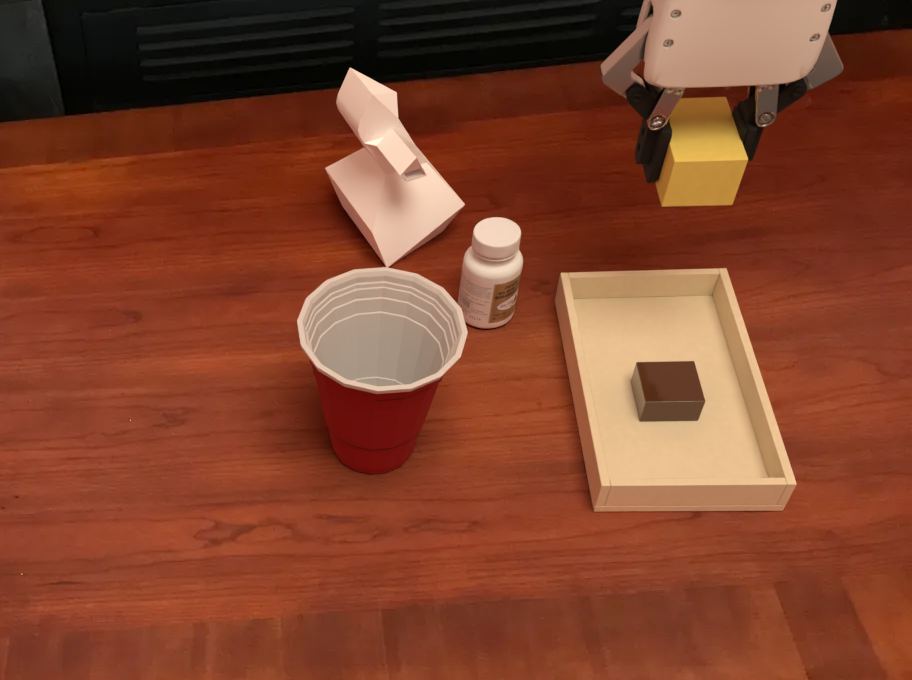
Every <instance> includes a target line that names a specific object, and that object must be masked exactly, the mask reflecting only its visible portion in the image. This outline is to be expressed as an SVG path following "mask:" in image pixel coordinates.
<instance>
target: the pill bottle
mask: <svg viewBox="0 0 912 680" xmlns="http://www.w3.org/2000/svg"><path fill="white" fill-rule="evenodd" d="M521 238H522V229H521V227H520V225H518V223H516V222H515V221H513V220H511V219H509V218H506V217H499V216H494V217H493V216H491V217H487V218H484V219H482V220H480V221H479V222H477V224H475V226H474V228H473V231H472V237H471V245H470V246H469V247H468V248H467V250H466V251H465V253H464V255H463V259H462V265H461V275H460V281H459V288H458V296H457V297H458V298H457V304H458V305H459V306H460V307H461V309H462V312H463V316H464V320H465V324H468V325H469V326H472V327H475V328H479V329H495V328H499V327H502V326H504V325H506V324H507V323H508V322H510V321H511V320H512V318H513V316H514V314H515V309H516V303H517V298H518V294H519V288H520V283H521V277H522V271H523V266H524V257H523V254H522V252H521V250H520V245H521Z"/></svg>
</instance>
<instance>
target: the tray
mask: <svg viewBox="0 0 912 680" xmlns="http://www.w3.org/2000/svg"><path fill="white" fill-rule="evenodd" d="M554 304H555V310H556V315H557V321H558V327H559V332H560V337H561V342H562V348H563V354H564V360H565V364H566V370H567V376H568V379H569V381H568V382H569V386H570V391H571V397H572V402H573V408H574V412H575V418H576V424H577V429H578V434H579V439H580V444H581V445H580V446H581V451H582V456H583V462H584V466H585V472H586V477H587V483H588V489H589V495H590V500H591V506H592V511H593V512H594V513H602V512H605V513H609V512H612V513H613V512H614V513H615V512H617V513H618V512H619V513H620V512H621V513H622V512H623V513H624V512H783V511H784V510H785V508H786V506H787V504H788V502H789V500H790V498H791V497H792V495H793V492H794V490H795V489H796V487H797V481H796V477H795V473H794V471H793V468H792V466H791V462H790V458H789V455H788V453H787V450H786V447H785V444H784V440H783V437H782V434H781V431H780V428H779V424H778V422H777V419H776V416H775V413H774V409H773V406H772V403H771V400H770V397H769V395H768V392H767V387H766V385H765V382H764V379H763V376H762V373H761V370H760V367H759V364H758V361H757V358H756V354H755V351H754V347H753V345H752V342H751V339H750V336H749V333H748V330H747V327H746V323H745V321H744V318H743V315H742V311H741V308H740V305H739V302H738V298H737V296H736V293H735V290H734V287H733V284H732V280H731V277H730V275H729V271H728V269H727V267H719V268H716V267H715V268H684V269H683V268H680V269H648V270H647V269H645V270H643V269H642V270H611V271H576V272H575V271H572V272H560V274H559V278H558V283H557V287H556V292H555V297H554ZM667 361H694V362H695V366H696V369H697V373H698V376H699V380H700V384H701V387H702V391H703V394H704V398H705V404H704V407H703V409H702V412H701V415H700V417H699V420H698V421H648V422H640V421H639V416H638V412H637V408H636V403H635V399H634V395H633V390H632V386H631V378H632V375H633V372H634V368H635V365H636V362H667Z"/></svg>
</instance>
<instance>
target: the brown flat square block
mask: <svg viewBox="0 0 912 680" xmlns="http://www.w3.org/2000/svg"><path fill="white" fill-rule="evenodd" d="M631 386H632V390H633V395H634V399H635V403H636V408H637V412H638V416H639V421H640V422H648V421H698V420H699V417H700V415H701V412H702V409H703V407H704V404H705V398H704V394H703V391H702V387H701V384H700V380H699V376H698V373H697V369H696V366H695V362H694V361H667V362H636V365H635V368H634V372H633V375H632V378H631Z"/></svg>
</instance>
